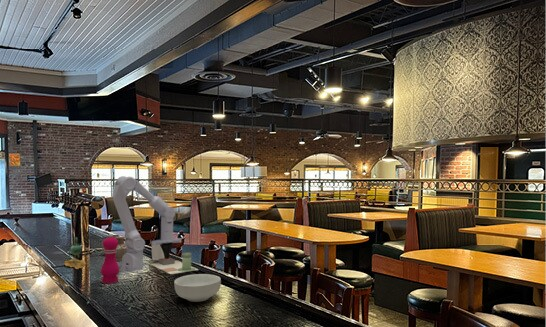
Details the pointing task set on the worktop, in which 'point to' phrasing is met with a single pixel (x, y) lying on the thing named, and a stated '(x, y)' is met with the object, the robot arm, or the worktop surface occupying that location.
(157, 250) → the white cup
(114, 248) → the pepper mill
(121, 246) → the pottery
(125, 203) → the robot arm
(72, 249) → the frog figurine
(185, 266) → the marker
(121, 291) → the worktop surface
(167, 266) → the picture board
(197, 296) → the cereal bowl
